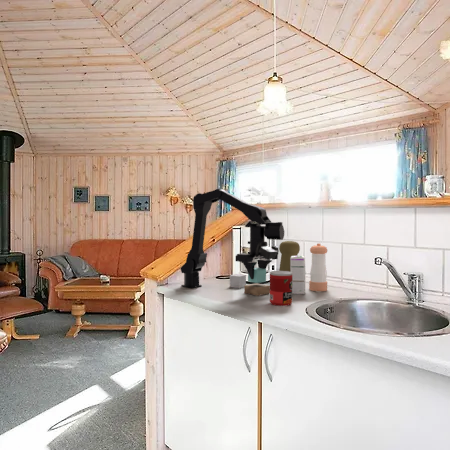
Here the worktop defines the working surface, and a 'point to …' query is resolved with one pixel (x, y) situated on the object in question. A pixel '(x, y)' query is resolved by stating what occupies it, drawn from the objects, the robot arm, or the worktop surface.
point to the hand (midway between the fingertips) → (256, 278)
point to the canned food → (281, 288)
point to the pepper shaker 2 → (318, 269)
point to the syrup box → (298, 274)
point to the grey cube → (237, 280)
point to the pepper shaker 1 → (287, 254)
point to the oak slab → (256, 289)
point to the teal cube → (258, 275)
